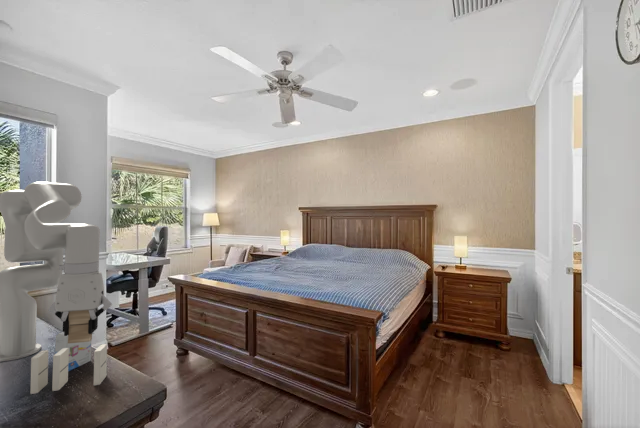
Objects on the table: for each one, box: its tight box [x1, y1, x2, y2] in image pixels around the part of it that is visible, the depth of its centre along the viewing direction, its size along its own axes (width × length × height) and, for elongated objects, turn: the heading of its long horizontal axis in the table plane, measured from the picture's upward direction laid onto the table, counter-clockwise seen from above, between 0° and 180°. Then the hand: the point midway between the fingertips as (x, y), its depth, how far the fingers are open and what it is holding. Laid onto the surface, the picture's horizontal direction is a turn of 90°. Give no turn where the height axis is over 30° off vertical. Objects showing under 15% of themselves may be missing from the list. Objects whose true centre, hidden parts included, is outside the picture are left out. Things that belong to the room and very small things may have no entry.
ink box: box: [54, 331, 93, 372], centre depth 99 cm, size 9×5×12 cm, turn 168°
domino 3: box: [68, 310, 93, 343], centre depth 83 cm, size 2×5×10 cm, turn 108°
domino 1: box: [29, 349, 49, 395], centre depth 86 cm, size 2×5×10 cm, turn 18°
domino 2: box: [51, 348, 69, 392], centre depth 87 cm, size 2×5×10 cm, turn 18°
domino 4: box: [93, 343, 108, 386], centre depth 90 cm, size 2×5×10 cm, turn 18°
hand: (80, 332), depth 83 cm, fingers closed on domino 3, 4 cm apart
